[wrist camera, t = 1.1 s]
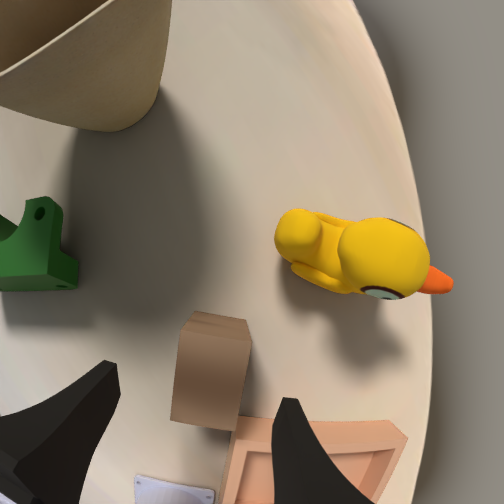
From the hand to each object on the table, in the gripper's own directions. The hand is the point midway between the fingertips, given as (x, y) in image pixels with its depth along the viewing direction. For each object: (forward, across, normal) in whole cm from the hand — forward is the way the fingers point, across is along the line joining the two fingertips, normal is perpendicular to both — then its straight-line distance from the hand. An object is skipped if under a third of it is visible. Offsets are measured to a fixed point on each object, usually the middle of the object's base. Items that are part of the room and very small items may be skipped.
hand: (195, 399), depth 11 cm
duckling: (+14, -8, -3) cm, 16 cm away
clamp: (+12, +18, +1) cm, 22 cm away
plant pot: (+18, +13, -13) cm, 26 cm away
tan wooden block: (+10, 0, +5) cm, 12 cm away
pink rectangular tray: (+6, -10, +16) cm, 20 cm away
